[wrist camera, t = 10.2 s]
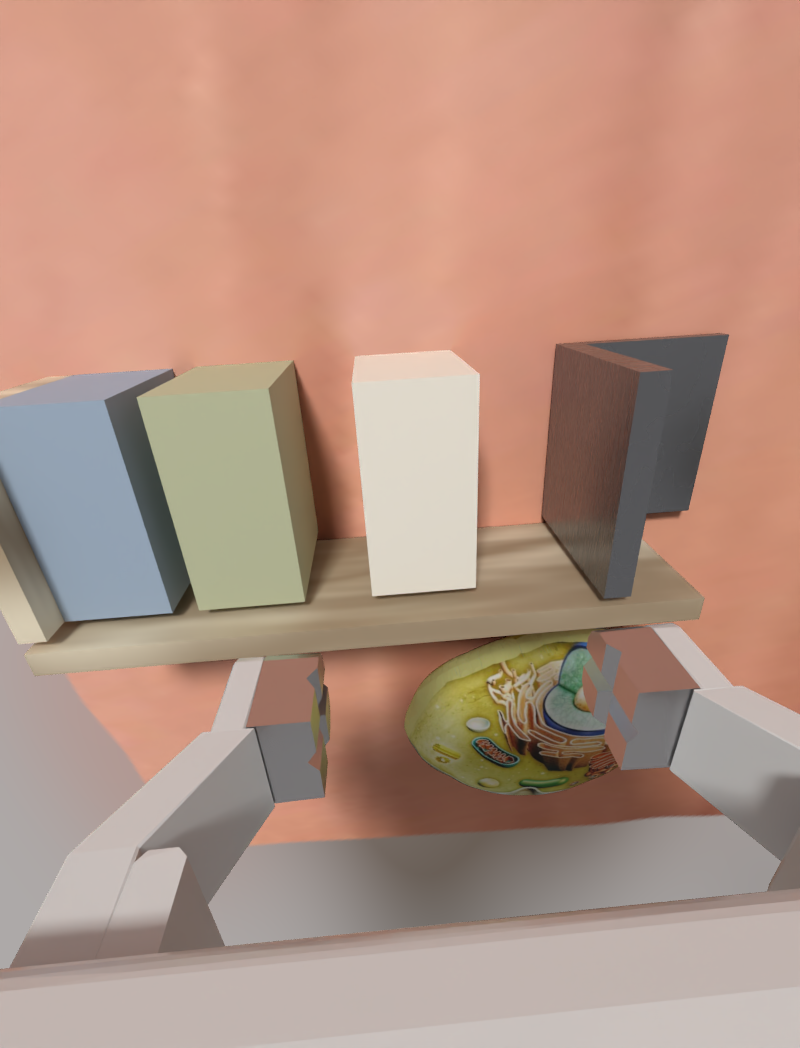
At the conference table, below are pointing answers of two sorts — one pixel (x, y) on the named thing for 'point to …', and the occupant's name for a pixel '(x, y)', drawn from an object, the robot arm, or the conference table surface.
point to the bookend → (625, 444)
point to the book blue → (93, 495)
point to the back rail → (337, 604)
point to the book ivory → (418, 469)
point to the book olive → (236, 481)
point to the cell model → (512, 716)
